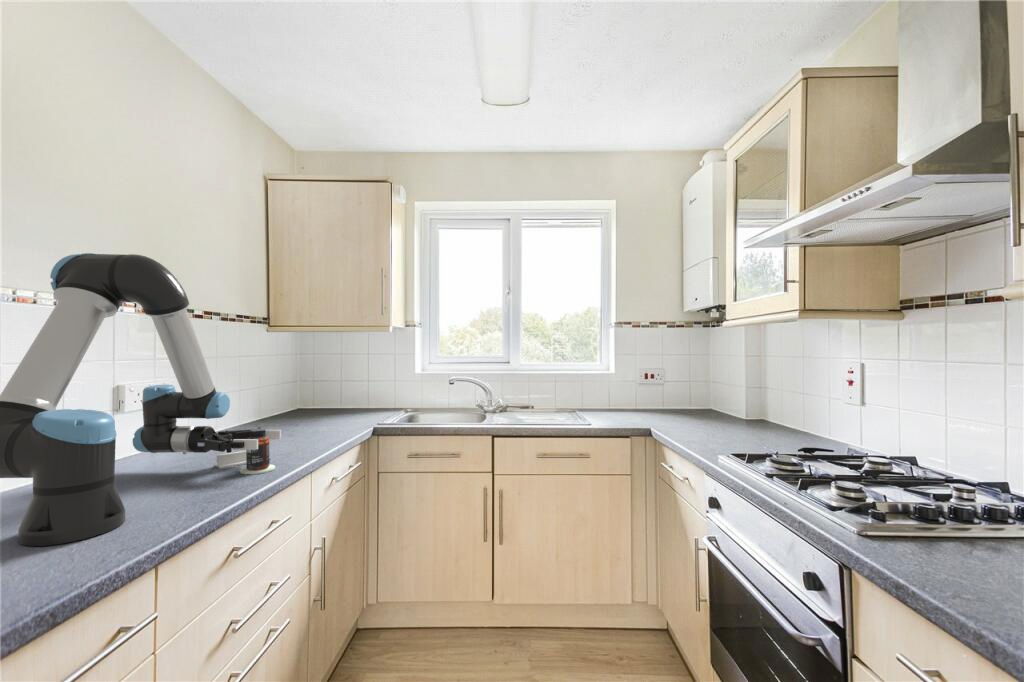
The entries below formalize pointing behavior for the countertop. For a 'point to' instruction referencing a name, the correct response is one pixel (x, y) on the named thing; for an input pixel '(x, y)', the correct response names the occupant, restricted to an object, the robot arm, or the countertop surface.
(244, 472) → the sage mat
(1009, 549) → the countertop surface
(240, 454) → the low wall
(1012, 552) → the countertop surface
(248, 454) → the supplement bottle
